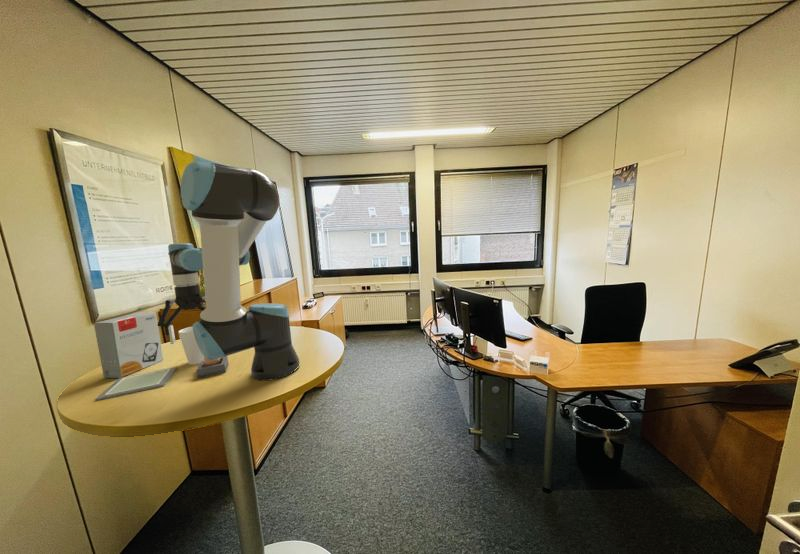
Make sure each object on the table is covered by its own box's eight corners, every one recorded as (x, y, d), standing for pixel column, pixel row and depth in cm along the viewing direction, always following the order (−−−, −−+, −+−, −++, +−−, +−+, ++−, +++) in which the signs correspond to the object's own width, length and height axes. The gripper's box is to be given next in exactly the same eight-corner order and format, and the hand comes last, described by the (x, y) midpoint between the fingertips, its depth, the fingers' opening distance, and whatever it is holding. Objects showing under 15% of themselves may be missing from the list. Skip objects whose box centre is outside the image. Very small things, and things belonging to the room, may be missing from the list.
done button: (219, 364, 97) (218, 356, 97) (203, 368, 96) (202, 359, 95) (221, 360, 102) (220, 352, 101) (206, 363, 100) (205, 355, 99)
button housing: (225, 372, 97) (224, 364, 97) (197, 378, 94) (196, 369, 93) (228, 363, 104) (227, 356, 104) (202, 369, 101) (201, 361, 100)
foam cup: (197, 367, 103) (192, 332, 101) (177, 366, 105) (171, 332, 103) (219, 356, 112) (214, 325, 111) (199, 355, 114) (195, 324, 113)
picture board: (163, 386, 89) (163, 383, 89) (95, 400, 83) (95, 398, 83) (177, 368, 103) (176, 366, 103) (119, 379, 96) (119, 377, 96)
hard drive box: (120, 378, 97) (109, 323, 94) (102, 378, 98) (91, 323, 96) (164, 359, 112) (156, 311, 110) (148, 359, 113) (140, 311, 111)
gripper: (226, 280, 113) (233, 330, 116) (148, 287, 103) (157, 342, 106) (224, 282, 107) (231, 336, 110) (139, 290, 96) (150, 349, 99)
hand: (195, 339), depth 108 cm, fingers open, 13 cm apart
